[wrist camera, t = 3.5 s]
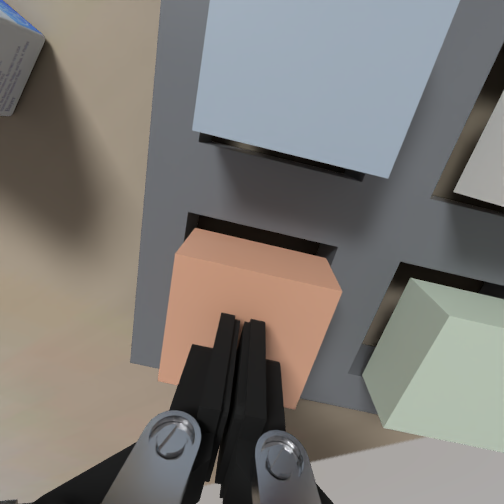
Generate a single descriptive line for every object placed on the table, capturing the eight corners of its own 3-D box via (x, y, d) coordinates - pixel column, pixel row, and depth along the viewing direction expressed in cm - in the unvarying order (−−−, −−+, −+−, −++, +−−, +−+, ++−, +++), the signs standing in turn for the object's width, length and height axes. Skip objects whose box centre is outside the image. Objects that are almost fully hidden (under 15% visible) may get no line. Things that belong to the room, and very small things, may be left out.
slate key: (426, -22, 9) (496, -90, 6) (358, 168, 11) (388, 178, 9) (243, -73, 9) (233, -168, 6) (210, 131, 11) (191, 130, 8)
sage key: (532, 306, 13) (603, 350, 11) (467, 397, 16) (511, 454, 13) (410, 277, 13) (449, 315, 10) (361, 374, 15) (383, 428, 12)
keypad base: (704, 10, 12) (840, -29, 9) (447, 393, 20) (476, 435, 17) (202, -134, 11) (180, -228, 8) (150, 329, 19) (130, 362, 16)
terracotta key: (325, 257, 13) (342, 291, 10) (289, 359, 15) (295, 409, 12) (195, 227, 13) (175, 253, 10) (177, 335, 15) (157, 381, 12)
